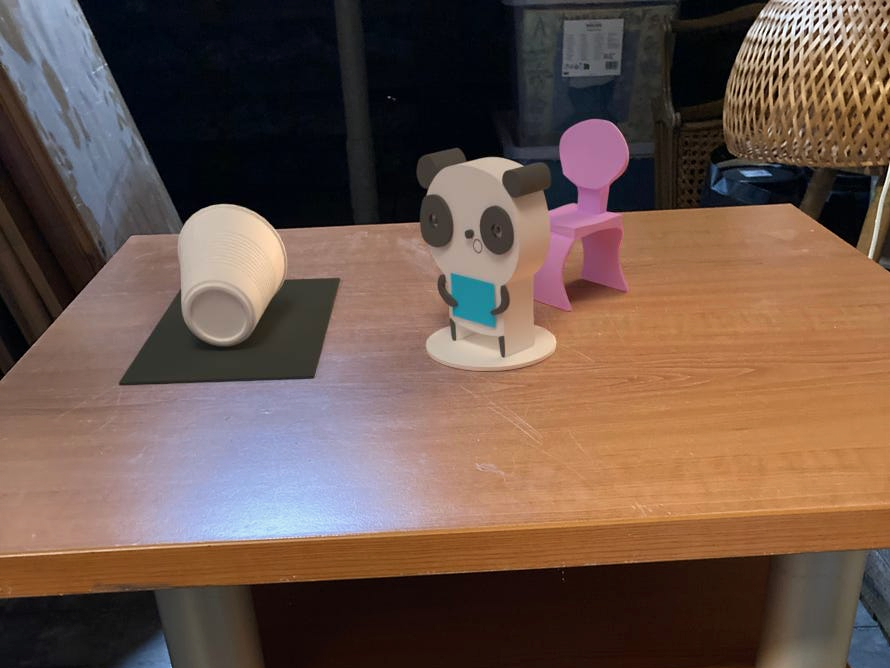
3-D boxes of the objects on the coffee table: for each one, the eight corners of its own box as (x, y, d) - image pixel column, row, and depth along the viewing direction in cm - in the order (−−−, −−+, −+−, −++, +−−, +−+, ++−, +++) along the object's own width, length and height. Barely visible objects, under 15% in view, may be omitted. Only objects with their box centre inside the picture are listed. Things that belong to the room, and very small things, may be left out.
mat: (313, 378, 82) (313, 375, 82) (119, 384, 82) (118, 382, 82) (339, 279, 103) (339, 277, 103) (184, 284, 103) (184, 282, 102)
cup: (302, 327, 86) (309, 268, 93) (218, 235, 79) (233, 180, 87) (218, 387, 89) (232, 326, 97) (132, 304, 83) (154, 246, 91)
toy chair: (512, 295, 97) (511, 125, 88) (575, 275, 102) (580, 111, 93) (573, 315, 92) (579, 137, 83) (636, 293, 97) (648, 122, 88)
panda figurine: (394, 346, 87) (379, 160, 78) (484, 313, 94) (480, 137, 84) (492, 382, 80) (488, 182, 71) (582, 343, 87) (590, 155, 78)
